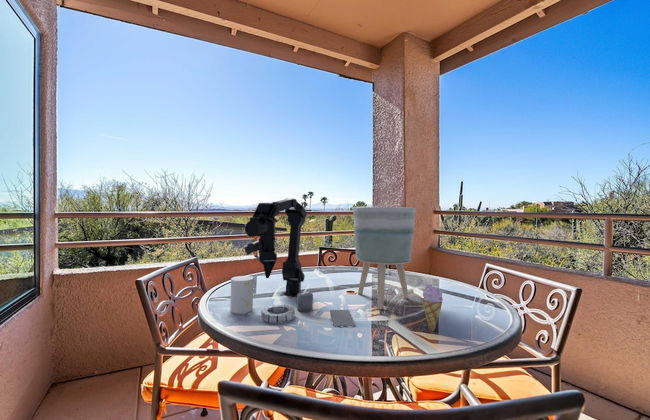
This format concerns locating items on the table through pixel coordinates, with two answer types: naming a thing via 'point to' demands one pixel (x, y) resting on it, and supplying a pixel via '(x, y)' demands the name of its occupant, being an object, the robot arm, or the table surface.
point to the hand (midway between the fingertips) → (266, 275)
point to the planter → (383, 242)
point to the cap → (305, 302)
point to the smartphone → (341, 318)
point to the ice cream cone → (432, 305)
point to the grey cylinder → (241, 294)
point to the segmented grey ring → (271, 317)
